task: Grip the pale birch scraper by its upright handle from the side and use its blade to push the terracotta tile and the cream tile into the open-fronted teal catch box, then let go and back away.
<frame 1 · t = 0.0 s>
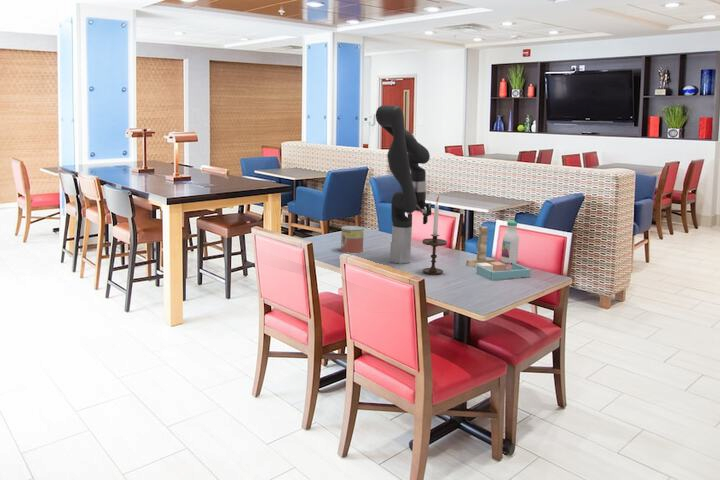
hand: (417, 222, 313), 17 cm above the table, tool pointing down, fingers open, 8 cm apart
tile terracotta: (497, 269, 298), on the table
tile cream: (484, 270, 295), on the table
candlestick: (432, 272, 288), on the table
catch box: (502, 274, 288), on the table
scraper: (480, 265, 305), on the table
milk bottle: (508, 262, 313), on the table
canned food: (351, 251, 324), on the table
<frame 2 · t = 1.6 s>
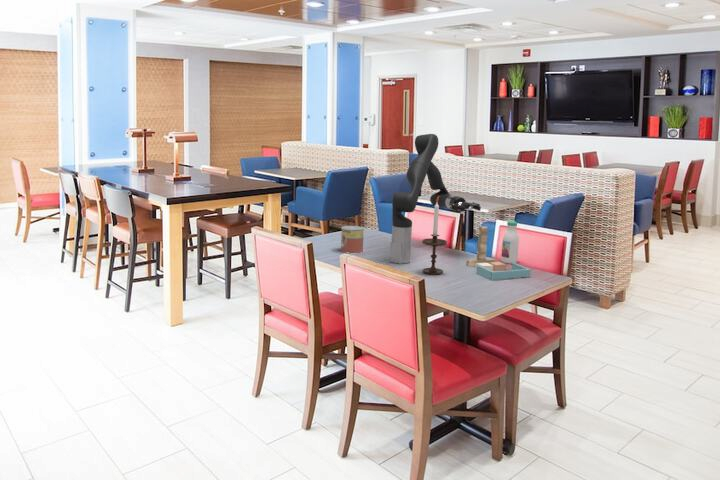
hand: (472, 208, 309), 25 cm above the table, tool horizontal, fingers open, 8 cm apart
nothing on the table moved.
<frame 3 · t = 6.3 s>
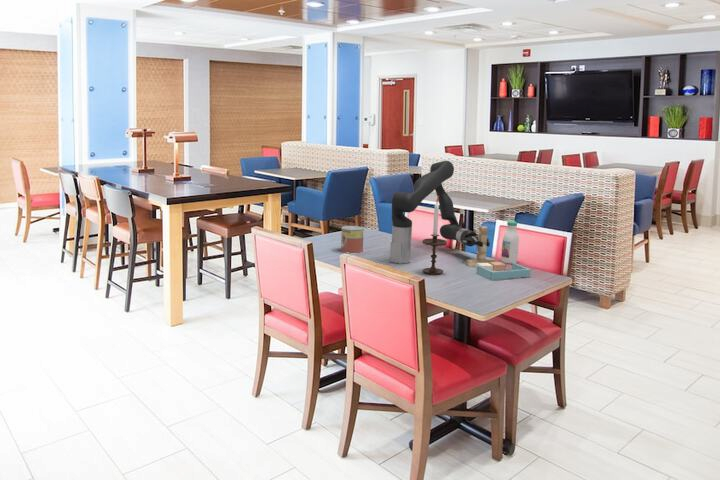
hand: (485, 244, 300), 11 cm above the table, tool horizontal, fingers closed on scraper, 3 cm apart
scraper: (480, 265, 305), on the table, touching gripper
everything else where it was.
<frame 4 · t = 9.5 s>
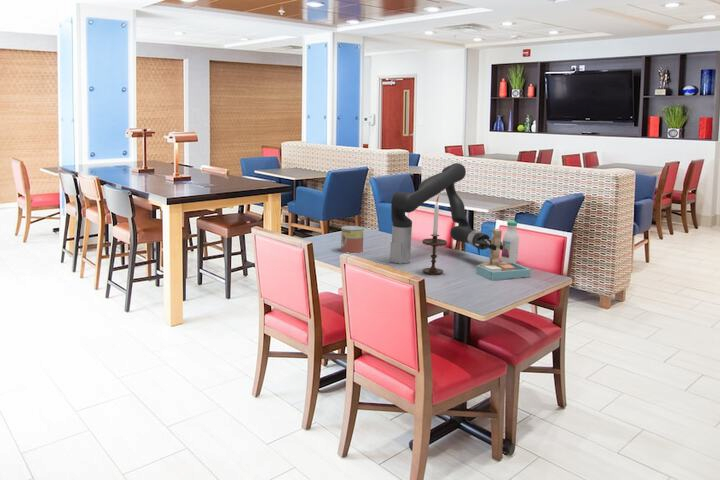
hand: (499, 248, 290), 11 cm above the table, tool horizontal, fingers closed on scraper, 3 cm apart
tile terracotta: (506, 272, 293), on the table
tile cream: (492, 273, 290), on the table
scraper: (493, 268, 295), point 1 cm above the table, touching gripper
everything else where it was.
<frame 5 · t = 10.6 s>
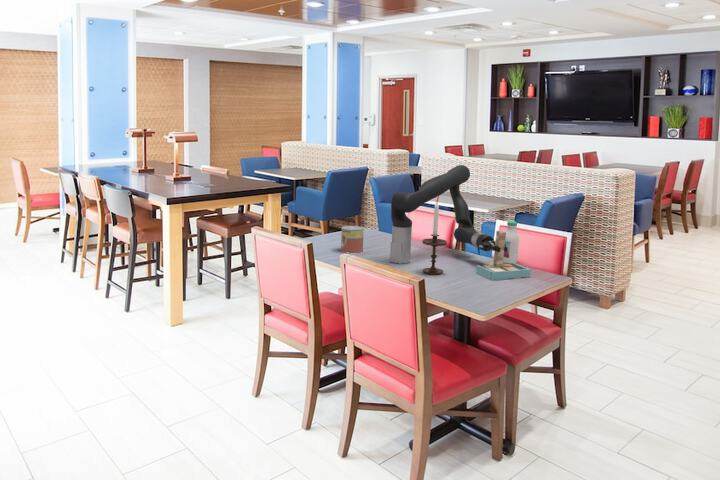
hand: (503, 249, 287), 11 cm above the table, tool horizontal, fingers closed on scraper, 3 cm apart
tile terracotta: (510, 275, 289), on the table
tile cream: (496, 276, 287), on the table, touching scraper
scraper: (497, 270, 292), point 1 cm above the table, touching gripper, tile cream
everything else where it was.
when the fingers open (11 cm above the table, at t = 11.7 s): scraper stays where it is, on the table.
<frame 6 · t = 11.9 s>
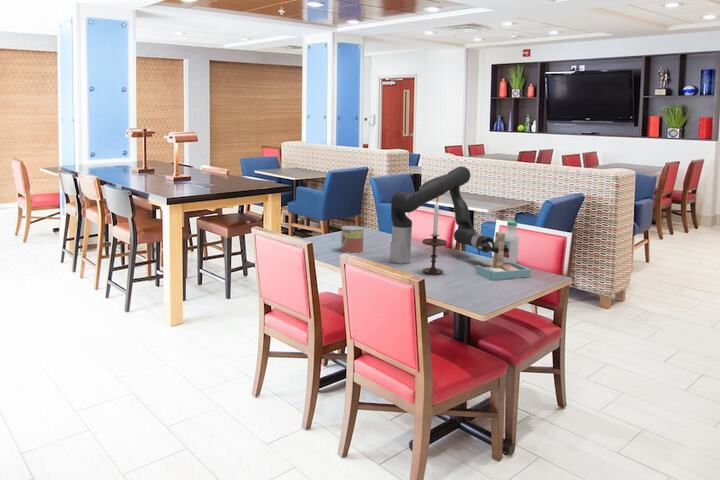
hand: (502, 250, 287), 11 cm above the table, tool horizontal, fingers open, 4 cm apart
tile cream: (496, 276, 287), on the table
scraper: (497, 272, 292), on the table
everything else where it was.
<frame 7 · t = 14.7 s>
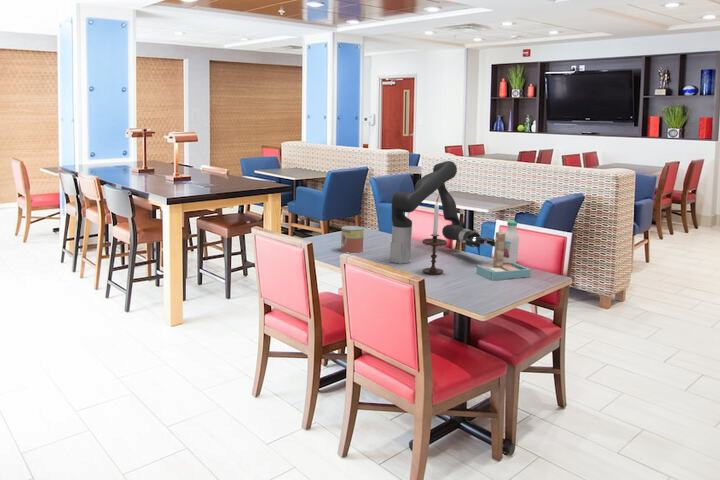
hand: (487, 244, 298), 11 cm above the table, tool horizontal, fingers open, 8 cm apart
nothing on the table moved.
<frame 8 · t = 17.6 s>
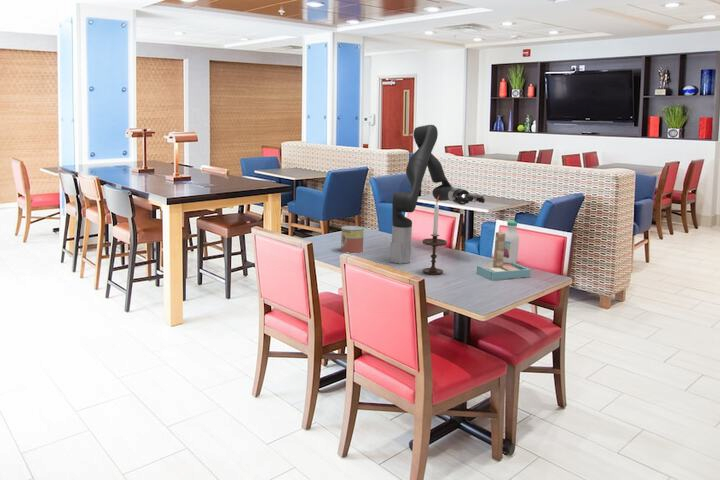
hand: (476, 201, 302), 30 cm above the table, tool horizontal, fingers open, 8 cm apart
nothing on the table moved.
at the end: tile terracotta 4.2 cm from the catch box (horizontally); tile cream 3.2 cm from the catch box (horizontally); the gripper is holding nothing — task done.
